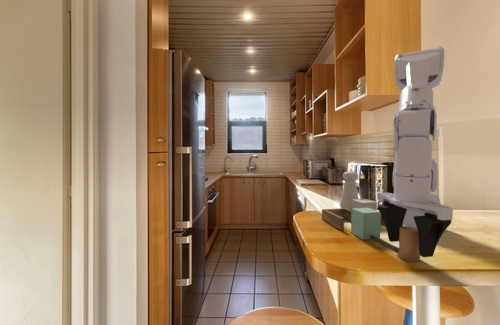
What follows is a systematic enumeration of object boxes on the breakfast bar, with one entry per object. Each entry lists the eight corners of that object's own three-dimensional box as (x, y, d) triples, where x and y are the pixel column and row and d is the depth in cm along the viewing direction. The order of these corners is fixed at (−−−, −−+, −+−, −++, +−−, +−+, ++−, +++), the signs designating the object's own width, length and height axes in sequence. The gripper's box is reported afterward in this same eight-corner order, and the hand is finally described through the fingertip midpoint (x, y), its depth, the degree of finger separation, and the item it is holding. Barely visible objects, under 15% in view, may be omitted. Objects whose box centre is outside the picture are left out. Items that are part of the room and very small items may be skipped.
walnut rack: (365, 217, 78) (365, 207, 78) (389, 227, 68) (390, 215, 68) (321, 219, 75) (322, 209, 75) (340, 230, 66) (341, 218, 65)
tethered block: (367, 231, 65) (368, 207, 64) (427, 260, 48) (428, 228, 48) (351, 233, 64) (351, 208, 63) (406, 262, 47) (407, 230, 47)
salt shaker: (361, 216, 79) (362, 173, 79) (341, 215, 80) (342, 172, 80) (357, 211, 85) (358, 171, 84) (338, 210, 86) (339, 170, 85)
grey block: (365, 219, 76) (366, 198, 75) (376, 224, 71) (376, 202, 71) (351, 220, 75) (352, 199, 75) (361, 224, 70) (362, 202, 70)
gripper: (367, 172, 55) (365, 236, 56) (428, 181, 41) (424, 267, 41) (396, 171, 56) (394, 234, 57) (465, 180, 42) (460, 263, 43)
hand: (409, 248), depth 49 cm, fingers open, 7 cm apart
